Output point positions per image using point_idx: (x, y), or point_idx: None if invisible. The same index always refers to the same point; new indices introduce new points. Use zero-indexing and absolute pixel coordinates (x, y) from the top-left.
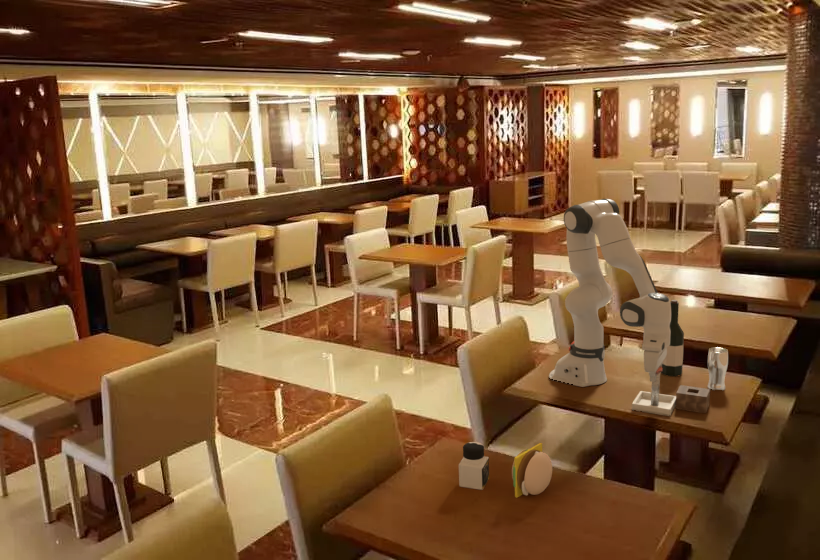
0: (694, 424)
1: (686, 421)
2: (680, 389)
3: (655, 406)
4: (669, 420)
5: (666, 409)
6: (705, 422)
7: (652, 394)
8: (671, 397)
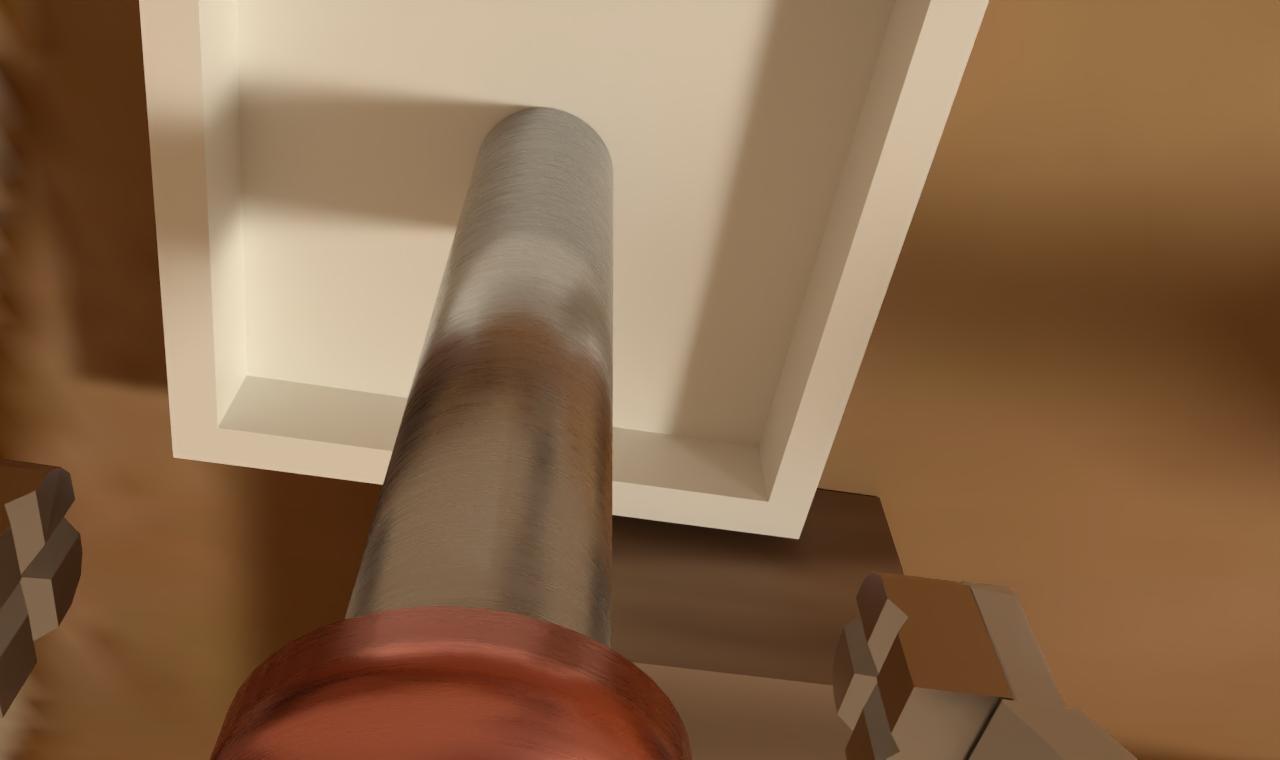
0: (92, 635)
1: (139, 564)
2: (713, 700)
3: (192, 235)
4: (51, 381)
5: (171, 400)
6: (219, 722)
7: (463, 228)
8: (776, 455)
